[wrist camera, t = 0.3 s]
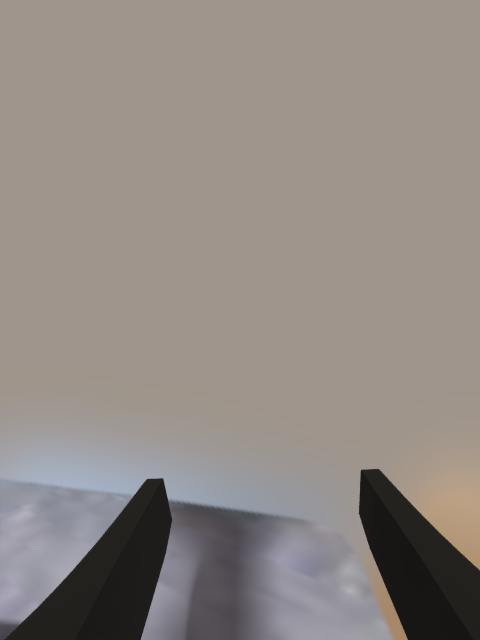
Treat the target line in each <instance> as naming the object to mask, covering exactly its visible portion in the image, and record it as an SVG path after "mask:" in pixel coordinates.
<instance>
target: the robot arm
mask: <svg viewBox="0 0 480 640" xmlns="http://www.w3.org/2000/svg"><path fill="white" fill-rule="evenodd" d="M360 481H361V482H360V502H359V504H360V505H359V515H360V518H361V521H362V525H363V528H364V531H365V534H366V537H367V541H368V544H369V547H370V550H371V552H372V554H373V557H374V559H375V562H376V564H377V566H378V569H379V571H380V574H381V576H382V578H383V581H384V583H385V586H386V588H387V591H388V593H389V595H390V598H391V600H392V602H393V605H394V607H395V610H396V612H397V614H398V617H399V619H400V622H401V624H402V626H403V629H404V631H405V634H406V636H407V639H408V640H480V570H479V569H477V567H475V566H474V565H473V564H472V563H471V562H470V561H469V560H468V559H467V558H466V557H465V556H463V555H462V554H461V553H460V552H459V551H458V550H457V549H456V548H455V547H454V546H453V545H452V544H451V543H450V542H449V541H448V540H446V539H445V538H444V537H443V536H442V535H441V534H440V533H439V532H438V531H437V530H436V529H435V528H434V527H433V526H432V525H431V524H430V523H429V522H428V521H427V520H426V519H425V518H424V517H423V516H422V515H421V514H420V512H418V510H417V509H416V508H415V507H414V506H413V505H412V504H411V503H410V502H409V501H408V500H407V499H406V498H405V497H404V496H403V495H402V494H401V492H400V491H399V490H398V489H397V488H396V487H395V486H394V485H393V484H392V483H391V482H390V481H389V480H388V478H387V477H386V476H385V475H384V474H383V473H382V472H381V471H380V470H379V469H370V470H361V480H360ZM171 523H172V517H171V512H170V508H169V503H168V498H167V494H166V489H165V485H164V480H163V479H161V478H160V479H147V480H146V481H145V482H144V483H143V485H142V486H141V488H140V489H139V490H138V491H137V493H136V494H135V495H134V496H133V498H132V499H131V500H130V502H129V503H128V504H127V506H126V507H125V508H124V509H123V511H122V512H121V513H120V515H119V516H118V517H117V518H116V520H115V521H114V522H113V523H112V525H111V526H110V527H109V528H108V529H107V531H106V532H105V533H104V534H103V536H102V537H101V538H100V539H99V541H98V542H97V543H96V544H95V545H94V546H93V548H92V549H91V550H90V551H89V552H88V553H87V555H86V556H85V557H84V558H83V559H82V560H81V561H80V563H79V564H78V565H77V566H76V567H75V568H74V569H73V571H72V572H71V573H70V574H69V575H68V576H67V577H66V578H65V579H64V580H63V582H62V583H61V584H60V585H59V586H58V587H57V588H56V589H55V590H54V591H53V592H52V593H51V594H50V595H49V596H48V597H47V598H46V599H45V600H44V601H43V603H42V604H41V605H40V606H39V607H38V608H37V609H36V610H35V611H34V612H33V613H31V614H30V615H29V616H28V617H27V618H26V619H25V620H24V621H23V622H22V623H21V624H20V625H19V626H18V627H17V628H16V629H15V630H14V631H13V632H12V633H11V634H10V635H9V636H8V637H7V638H6V639H5V640H141V636H142V633H143V630H144V626H145V623H146V619H147V616H148V613H149V609H150V606H151V602H152V599H153V595H154V592H155V589H156V585H157V582H158V578H159V575H160V571H161V568H162V565H163V561H164V557H165V554H166V549H167V544H168V539H169V534H170V528H171Z"/></svg>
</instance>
